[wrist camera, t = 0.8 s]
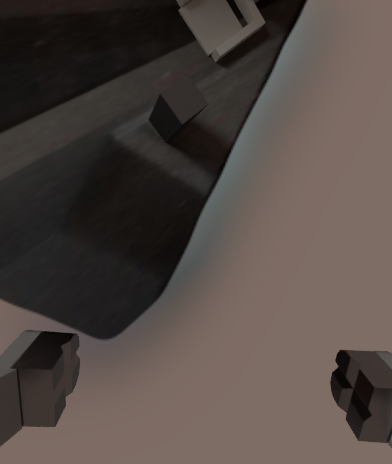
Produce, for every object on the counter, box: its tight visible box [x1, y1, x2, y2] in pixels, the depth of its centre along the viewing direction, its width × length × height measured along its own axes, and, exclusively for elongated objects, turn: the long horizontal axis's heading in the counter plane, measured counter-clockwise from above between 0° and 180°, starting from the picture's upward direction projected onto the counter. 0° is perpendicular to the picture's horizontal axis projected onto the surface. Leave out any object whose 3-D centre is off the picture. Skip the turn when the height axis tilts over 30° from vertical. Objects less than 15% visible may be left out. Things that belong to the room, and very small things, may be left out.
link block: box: [149, 73, 208, 143], centre depth 38 cm, size 4×4×11 cm
